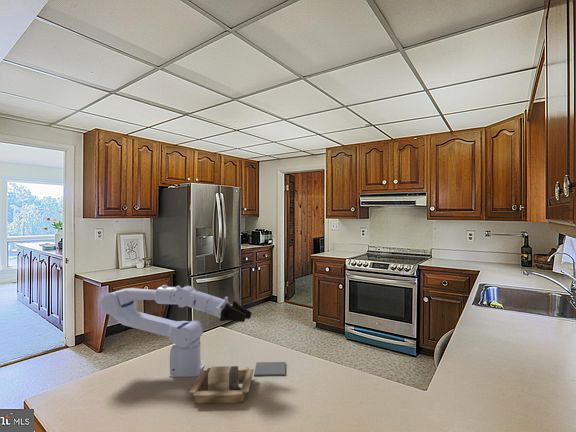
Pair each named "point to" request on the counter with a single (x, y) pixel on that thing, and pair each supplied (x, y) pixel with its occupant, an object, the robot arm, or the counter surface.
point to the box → (223, 378)
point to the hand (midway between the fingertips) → (248, 317)
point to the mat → (270, 369)
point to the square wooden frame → (221, 396)
